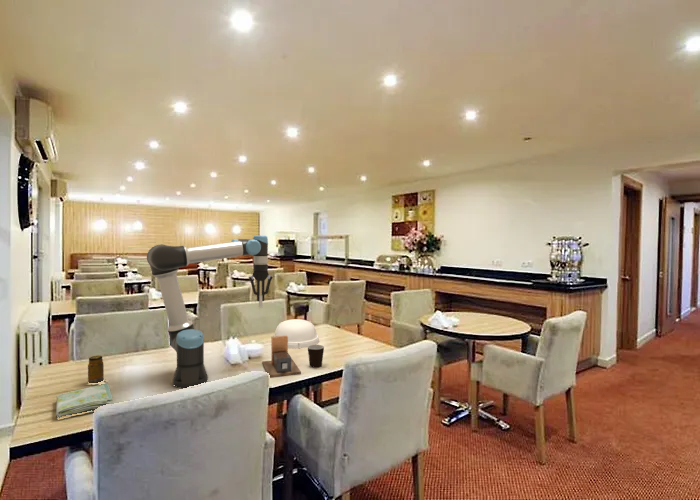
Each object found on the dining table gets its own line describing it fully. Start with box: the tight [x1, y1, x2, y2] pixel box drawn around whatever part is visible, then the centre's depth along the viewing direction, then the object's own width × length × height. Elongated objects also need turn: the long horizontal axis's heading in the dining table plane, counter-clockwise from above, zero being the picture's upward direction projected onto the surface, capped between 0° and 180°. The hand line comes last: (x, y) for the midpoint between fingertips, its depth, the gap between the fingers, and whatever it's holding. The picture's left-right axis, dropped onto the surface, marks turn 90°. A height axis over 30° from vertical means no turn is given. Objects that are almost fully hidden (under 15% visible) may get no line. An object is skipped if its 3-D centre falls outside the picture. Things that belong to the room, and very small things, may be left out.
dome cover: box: [272, 318, 320, 350], centre depth 255 cm, size 32×30×14 cm
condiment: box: [87, 355, 105, 383], centre depth 182 cm, size 7×8×12 cm
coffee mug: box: [307, 344, 325, 369], centre depth 210 cm, size 12×9×10 cm
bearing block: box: [274, 352, 292, 373], centre depth 200 cm, size 7×10×7 cm
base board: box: [261, 358, 302, 379], centre depth 204 cm, size 16×22×1 cm
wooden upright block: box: [270, 335, 289, 369], centre depth 201 cm, size 8×16×14 cm, turn 20°
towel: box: [55, 382, 113, 419], centre depth 158 cm, size 18×21×5 cm
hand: (260, 307), depth 216 cm, fingers closed
